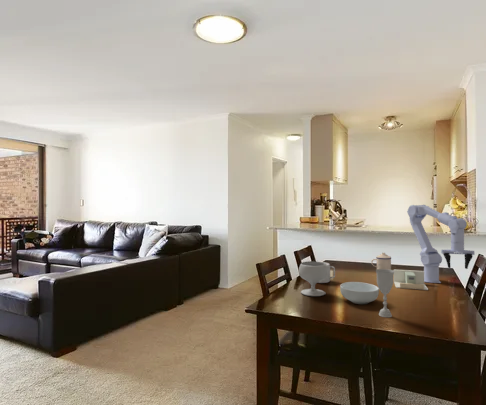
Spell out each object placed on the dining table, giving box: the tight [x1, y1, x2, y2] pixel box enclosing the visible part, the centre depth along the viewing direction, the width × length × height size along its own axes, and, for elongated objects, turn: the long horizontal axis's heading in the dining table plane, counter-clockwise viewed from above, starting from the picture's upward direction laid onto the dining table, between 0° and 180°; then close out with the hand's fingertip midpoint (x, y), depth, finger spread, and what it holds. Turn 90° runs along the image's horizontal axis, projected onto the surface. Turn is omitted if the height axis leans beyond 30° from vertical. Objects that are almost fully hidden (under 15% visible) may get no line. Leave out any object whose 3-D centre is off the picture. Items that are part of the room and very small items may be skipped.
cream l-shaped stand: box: [393, 269, 429, 291], centre depth 181 cm, size 13×15×7 cm
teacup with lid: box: [371, 252, 392, 270], centre depth 219 cm, size 12×9×12 cm
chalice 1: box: [298, 260, 327, 297], centre depth 169 cm, size 14×14×15 cm
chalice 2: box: [375, 268, 395, 318], centre depth 137 cm, size 7×7×18 cm
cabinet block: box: [405, 272, 416, 284], centre depth 181 cm, size 10×4×6 cm, turn 161°
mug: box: [316, 261, 336, 284], centre depth 194 cm, size 14×11×10 cm
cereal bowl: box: [339, 281, 380, 305], centre depth 156 cm, size 17×17×7 cm
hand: (457, 268), depth 175 cm, fingers open, 7 cm apart
